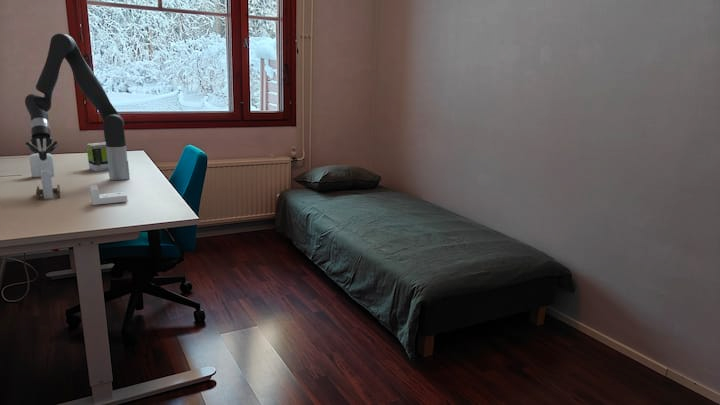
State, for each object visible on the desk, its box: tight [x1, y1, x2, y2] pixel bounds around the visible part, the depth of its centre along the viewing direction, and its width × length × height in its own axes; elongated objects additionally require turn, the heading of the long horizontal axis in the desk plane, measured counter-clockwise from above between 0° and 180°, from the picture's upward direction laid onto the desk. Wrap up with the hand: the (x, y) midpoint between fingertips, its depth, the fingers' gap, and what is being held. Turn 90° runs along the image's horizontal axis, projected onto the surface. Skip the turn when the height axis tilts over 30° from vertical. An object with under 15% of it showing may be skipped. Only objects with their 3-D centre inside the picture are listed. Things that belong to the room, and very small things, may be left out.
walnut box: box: [35, 184, 61, 201], centre depth 216 cm, size 9×14×4 cm, turn 31°
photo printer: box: [29, 153, 56, 178], centre depth 253 cm, size 10×4×12 cm, turn 123°
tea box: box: [85, 141, 109, 172], centre depth 276 cm, size 15×10×15 cm, turn 135°
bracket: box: [89, 185, 128, 206], centre depth 207 cm, size 13×7×8 cm, turn 123°
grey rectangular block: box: [40, 170, 54, 200], centre depth 214 cm, size 4×10×11 cm, turn 31°
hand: (43, 159), depth 221 cm, fingers closed
